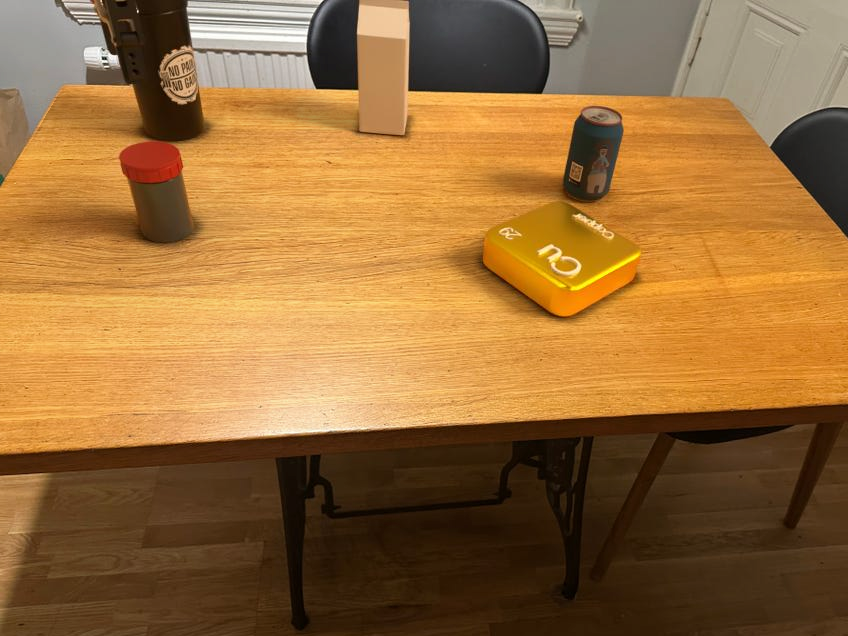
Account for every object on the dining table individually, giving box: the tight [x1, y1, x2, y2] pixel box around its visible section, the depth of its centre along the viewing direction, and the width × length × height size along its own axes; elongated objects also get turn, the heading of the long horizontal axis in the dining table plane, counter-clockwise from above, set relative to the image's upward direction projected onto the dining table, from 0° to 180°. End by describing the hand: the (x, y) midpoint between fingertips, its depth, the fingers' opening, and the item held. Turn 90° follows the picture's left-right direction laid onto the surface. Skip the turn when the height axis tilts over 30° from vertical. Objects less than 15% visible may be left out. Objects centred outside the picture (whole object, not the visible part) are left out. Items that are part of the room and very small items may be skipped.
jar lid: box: [118, 140, 184, 183], centre depth 80 cm, size 6×6×2 cm
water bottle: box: [124, 0, 206, 142], centre depth 98 cm, size 10×10×23 cm
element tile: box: [482, 200, 642, 317], centre depth 87 cm, size 15×15×5 cm
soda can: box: [562, 105, 625, 203], centre depth 99 cm, size 7×7×12 cm
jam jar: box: [126, 170, 195, 244], centre depth 83 cm, size 6×6×10 cm
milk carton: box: [356, 0, 411, 136], centre depth 107 cm, size 7×7×19 cm
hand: (128, 67), depth 73 cm, fingers open, 7 cm apart
